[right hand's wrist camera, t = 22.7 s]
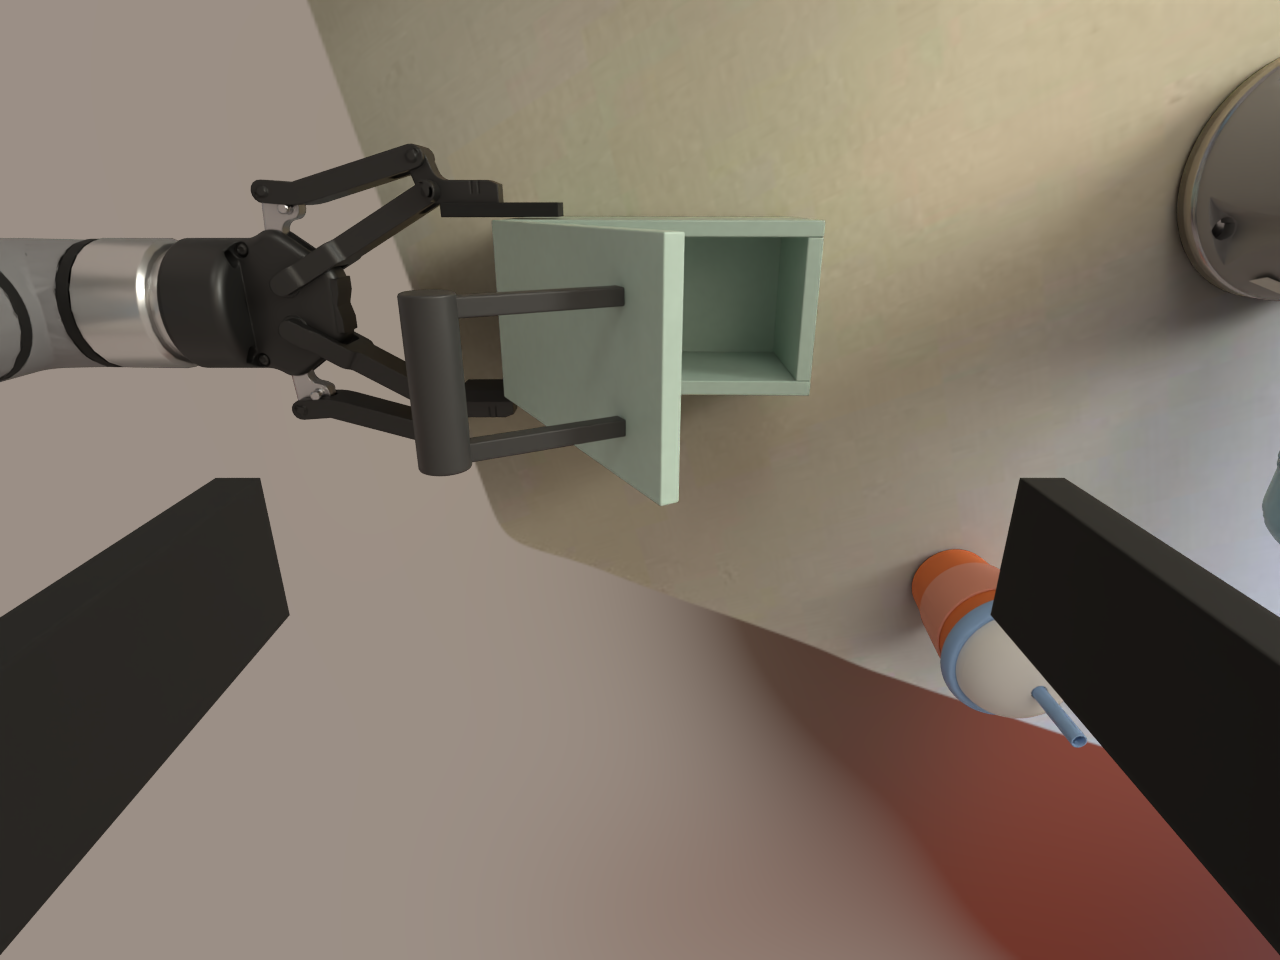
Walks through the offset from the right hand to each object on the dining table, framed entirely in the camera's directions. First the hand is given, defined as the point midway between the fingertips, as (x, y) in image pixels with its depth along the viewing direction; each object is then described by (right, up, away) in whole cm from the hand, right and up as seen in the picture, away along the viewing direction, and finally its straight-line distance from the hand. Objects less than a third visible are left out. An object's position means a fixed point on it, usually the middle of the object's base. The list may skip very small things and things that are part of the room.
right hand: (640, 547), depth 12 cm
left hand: (-4, +12, +29) cm, 32 cm away
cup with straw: (+25, -7, +44) cm, 51 cm away
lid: (-3, +8, +19) cm, 21 cm away
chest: (+1, +14, +36) cm, 38 cm away
